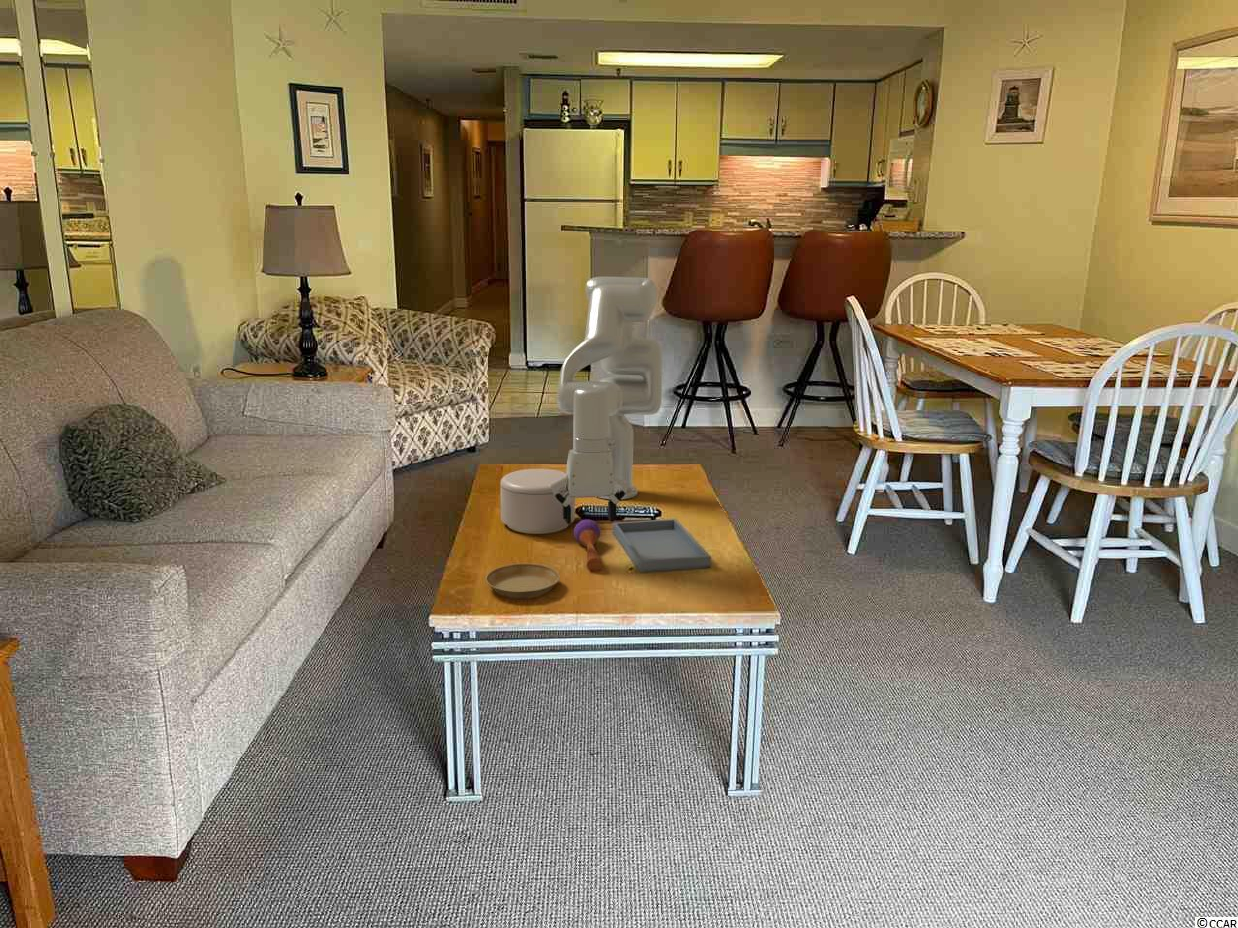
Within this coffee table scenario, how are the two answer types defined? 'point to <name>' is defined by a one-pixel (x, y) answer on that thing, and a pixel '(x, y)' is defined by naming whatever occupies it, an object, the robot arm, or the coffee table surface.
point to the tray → (660, 546)
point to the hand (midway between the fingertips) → (589, 521)
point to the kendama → (589, 542)
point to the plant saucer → (522, 580)
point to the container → (533, 501)
